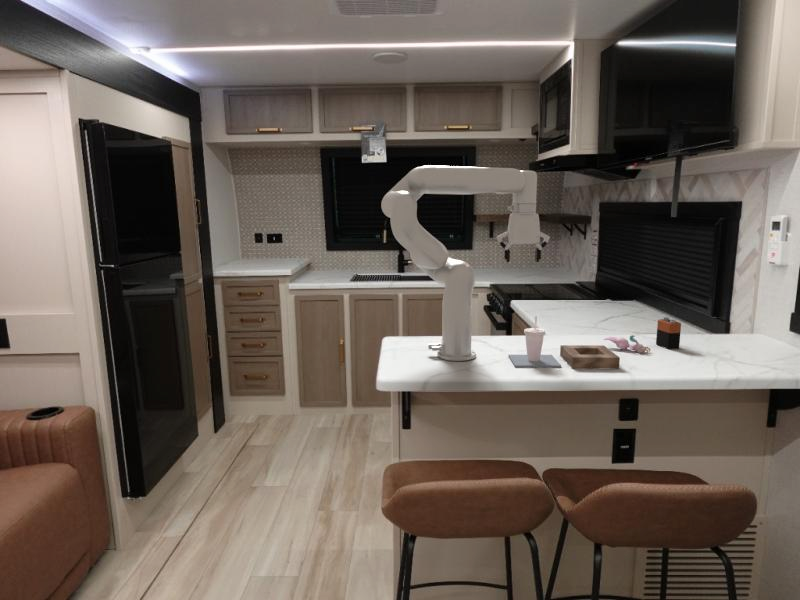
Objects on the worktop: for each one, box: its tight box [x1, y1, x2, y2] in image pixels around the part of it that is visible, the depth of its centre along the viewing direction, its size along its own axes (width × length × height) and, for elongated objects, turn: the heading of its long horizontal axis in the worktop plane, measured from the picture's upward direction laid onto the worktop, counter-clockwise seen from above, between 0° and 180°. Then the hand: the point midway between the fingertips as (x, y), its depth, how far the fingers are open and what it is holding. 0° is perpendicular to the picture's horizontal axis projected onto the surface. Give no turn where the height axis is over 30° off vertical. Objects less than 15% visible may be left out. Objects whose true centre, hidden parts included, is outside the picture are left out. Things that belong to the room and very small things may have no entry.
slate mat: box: [508, 354, 562, 368], centre depth 167 cm, size 14×12×1 cm
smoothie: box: [523, 315, 546, 362], centre depth 166 cm, size 6×6×14 cm
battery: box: [655, 316, 682, 350], centre depth 183 cm, size 4×7×10 cm, turn 13°
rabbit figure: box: [603, 334, 651, 354], centre depth 180 cm, size 6×6×15 cm
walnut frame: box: [559, 344, 621, 370], centre depth 166 cm, size 14×14×4 cm
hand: (522, 261), depth 176 cm, fingers open, 9 cm apart
